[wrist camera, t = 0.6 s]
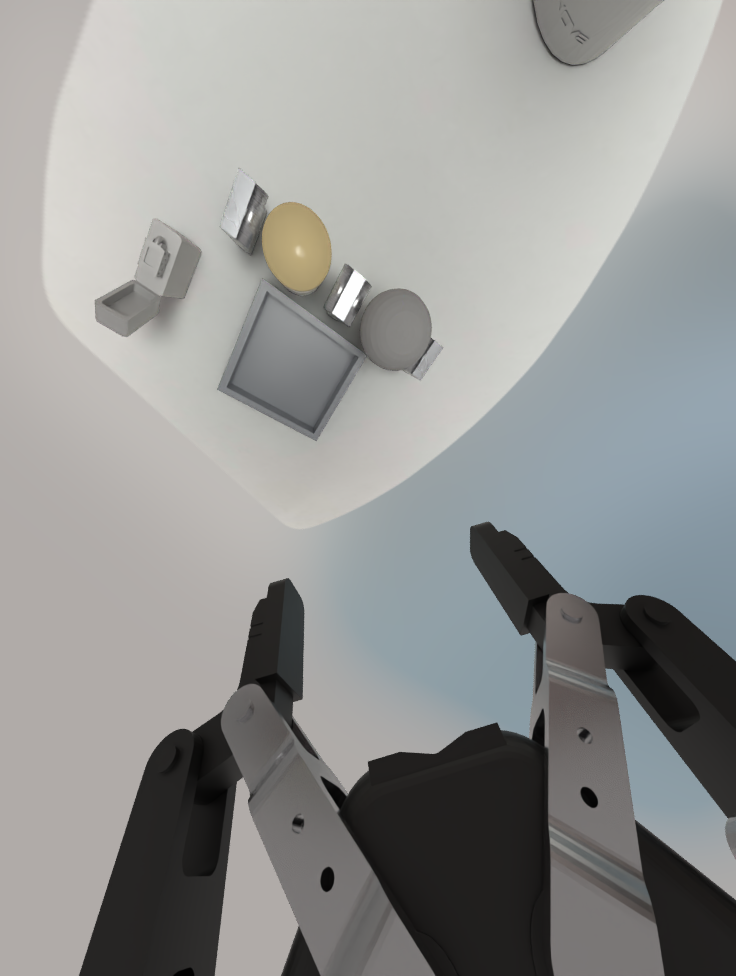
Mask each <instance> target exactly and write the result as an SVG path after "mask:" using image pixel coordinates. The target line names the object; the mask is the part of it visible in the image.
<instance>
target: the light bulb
mask: <svg viewBox="0 0 736 976" xmlns="http://www.w3.org/2000/svg"><path fill="white" fill-rule="evenodd" d="M431 329H432V326H431V318H430V314H429V311H428V309H427V307H426V305H425V304H424V302H423V301H422V300H421V298H420V297H419V296H417V295H416V294H415V293H413V292H411V291H409V290H406V289H391V290H387V291H384V292H382V293H380V294H379V295H377V296H376V297H375V298H374V299H373V300H372V301H371V302H370V303H369V305H368V306H367V308H366V309H365V312H364V314H363V317H362V320H361V325H360V338H361V343H362V346H363V349H364V351H365V353H366V355H367V356H368V357H369V359H370V360H371V361H372V362H373V363H375V364H376V365H378V366H379V367H381V368H384V369H387V370H392V371H396V370H402V369H405V368H407V367H409V366H411V365H413V364H414V363H415V362H416V361H418V360H419V359H420V358H421V356H422V355H423V354H424V352H425V351H426V349H427V347H428V344H429V341H430V337H431Z"/></svg>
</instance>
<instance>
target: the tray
mask: <svg viewBox="0 0 736 976" xmlns="http://www.w3.org/2000/svg"><path fill="white" fill-rule="evenodd" d="M366 357H367V355H366V354H365V353H363V352H362V351H361V350H359V349H358V348H357V347H355V346H354V345H353V344H351V343H350V342H349V341H347V340H346V339H344V338H343V337H342V336H340V335H339V334H338V333H336V332H335V331H334V330H332V329H331V328H330V327H328V326H327V325H325V324H324V323H323V322H321V321H320V320H319V319H317V318H316V317H315V316H313V315H312V314H311V313H309V312H308V311H306V310H305V309H304V308H302V307H301V306H300V305H298V304H297V303H296V302H294V301H293V300H292V299H290V298H289V297H288V296H286V295H285V294H283V293H282V292H281V291H279V290H278V289H277V288H275V287H274V286H273V285H271V284H270V283H269V282H267V281H266V280H264V279H263V278H262V281H261V283H260V285H259V288H258V290H257V293H256V295H255V298H254V300H253V303H252V305H251V308H250V310H249V313H248V315H247V317H246V320H245V322H244V325H243V327H242V330H241V332H240V335H239V337H238V340H237V342H236V345H235V347H234V349H233V352H232V354H231V357H230V359H229V362H228V364H227V367H226V369H225V372H224V374H223V377H222V379H221V381H220V384H219V386H218V389H217V390H219V391H221V392H223V393H225V394H227V395H229V396H231V397H233V398H235V399H236V400H238V401H240V402H242V403H244V404H246V405H248V406H250V407H252V408H254V409H256V410H258V411H259V412H261V413H263V414H265V415H267V416H269V417H271V418H273V419H275V420H277V421H279V422H281V423H283V424H284V425H286V426H288V427H290V428H292V429H294V430H296V431H298V432H300V433H302V434H304V435H306V436H308V437H309V438H311V439H313V440H315V441H317V439H318V437H319V436H320V434H321V432H322V431H323V429H324V427H325V426H326V424H327V422H328V421H329V419H330V417H331V416H332V414H333V412H334V411H335V409H336V407H337V405H338V404H339V402H340V400H341V399H342V397H343V395H344V394H345V392H346V390H347V389H348V387H349V385H350V384H351V382H352V380H353V379H354V377H355V375H356V373H357V372H358V370H359V368H360V367H361V365H362V363H363V362H364V360H365V358H366Z"/></svg>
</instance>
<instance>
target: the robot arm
mask: <svg viewBox="0 0 736 976" xmlns="http://www.w3.org/2000/svg"><path fill="white" fill-rule="evenodd" d="M663 1H664V0H534V6H535V12H536V17H537V22H538V26H539V29H540V31H541V34H542V37H543V39H544V42H545V43H546V45H547V46H548V48H549V49H550V51H551V52H552V54H553V55H555V56H556V57H557V58H558V59H559V60H561V61H562V62H565V63H568V64H572V65H577V64H585V63H587V62H589V61H592V60H594V59H596V58H598V57H599V56H600V55H601V54H602V53H604V52H605V51H606V50H607V49H609V48H610V47H611V46H612V45H613V44H614V43H616V42H617V41H618V40H619V39H620V38H621V37H622V36H624V35H625V34H626V33H627V32H628V31H629V30H630V29H632V28H633V27H634V26H635V25H636V24H637V23H638V22H639V21H641V20H642V19H643V18H644V17H645V16H646V15H647V14H649V13H650V12H651V11H652V10H653V9H654V8H655V7H657V6H658V5H659V4H660V3H662V2H663ZM470 552H471V556H472V559H473V561H474V563H475V565H476V566H477V568H478V569H479V571H480V573H481V574H482V575H483V577H484V579H485V580H486V582H487V583H488V585H489V586H490V588H491V590H492V591H493V593H494V594H495V596H496V598H497V599H498V601H499V602H500V604H501V605H502V607H503V609H504V610H505V612H506V613H507V615H508V616H509V618H510V620H511V621H512V623H513V624H514V626H515V627H516V629H517V630H518V632H519V634H520V635H525V634H528V633H531V635H532V636H533V638H534V639H535V641H536V643H535V661H534V686H533V687H534V688H533V701H532V708H531V716H530V717H531V718H530V734H529V738H527V737H525V736H523V735H520V734H517V733H514V732H509V731H502V730H500V728H499V726H498V723H494V724H490V725H487V726H484V727H480V728H477V729H474V730H471V731H467V732H465V733H464V734H463V735H461V736H460V737H458V738H457V739H456V740H454V741H453V742H452V743H451V744H449V745H448V746H447V747H445V748H444V749H443V750H441V751H440V752H439V753H436V754H424V753H423V754H422V753H406V752H398V753H395V754H392V755H388V756H385V757H382V758H378V759H375V760H372V761H369V762H368V766H369V771H368V772H367V773H365V774H364V775H363V776H362V777H361V778H360V779H359V780H358V781H357V783H356V784H355V785H354V786H353V788H352V789H351V790H350V792H349V794H348V793H347V791H346V790H345V788H344V787H343V786H342V784H341V783H340V781H339V780H338V778H337V777H336V776H335V774H334V773H333V772H332V771H331V769H330V768H329V767H328V766H327V765H326V764H325V762H324V761H323V760H322V758H321V757H320V755H319V754H318V752H317V751H316V749H315V748H314V747H313V745H312V744H311V742H310V741H309V739H308V738H307V736H306V735H305V733H304V732H303V730H302V729H301V727H300V726H299V724H298V723H297V722H296V720H295V719H294V717H293V716H292V711H293V702H295V701H298V700H301V699H302V698H303V650H304V649H303V648H304V605H303V602H302V599H301V597H300V595H299V594H298V592H297V590H296V589H295V587H294V586H293V584H292V582H291V580H290V579H289V578H287V579H283V580H280V581H276V582H273V583H270V585H269V587H268V594H267V598H265V599H261V600H260V601H259V603H258V604H257V606H256V608H255V610H254V612H253V615H252V620H251V629H250V631H249V636H248V637H249V640H248V641H247V647H246V652H245V657H244V663H243V668H242V673H241V679H240V683H239V687H238V689H237V691H236V692H235V693H234V694H233V695H232V696H231V698H230V699H229V700H228V702H227V704H226V705H225V708H224V710H223V711H222V712H220V713H219V714H218V715H216V716H215V717H213V718H212V719H210V720H209V721H207V722H206V723H205V724H203V725H202V726H200V727H199V728H197V729H196V730H194V731H193V732H191V731H189V730H187V729H179V730H176V731H174V732H172V733H170V734H169V735H168V736H167V737H165V738H164V739H163V740H162V741H161V742H160V744H159V745H158V746H157V747H156V749H155V750H154V751H153V753H152V755H151V756H150V758H149V760H148V762H147V765H146V767H145V770H144V774H143V777H142V780H141V783H140V786H139V789H138V792H137V796H136V799H135V802H134V805H133V808H132V811H131V814H130V818H129V821H128V824H127V827H126V830H125V834H124V836H123V840H122V843H121V846H120V849H119V852H118V855H117V858H116V861H115V865H114V868H113V871H112V874H111V877H110V880H109V883H108V886H107V890H106V893H105V896H104V899H103V903H102V905H101V908H100V912H99V915H98V918H97V921H96V924H95V927H94V930H93V933H92V937H91V940H90V943H89V946H88V950H87V953H86V956H85V959H84V962H83V965H82V968H81V971H80V974H79V976H215V967H216V958H217V950H218V940H219V932H220V924H221V914H222V906H223V898H224V889H225V880H226V871H227V863H228V854H229V845H230V837H231V828H232V819H233V810H234V802H235V792H236V784H237V781H239V780H240V779H241V778H242V777H243V778H244V780H245V782H246V784H247V786H248V789H249V792H250V798H249V800H248V805H249V810H250V813H251V816H252V818H253V821H254V823H255V825H256V827H257V830H258V832H259V834H260V837H261V839H262V841H263V844H264V845H265V848H266V851H267V853H268V855H269V857H270V860H271V862H272V864H273V867H274V869H275V871H276V873H277V876H278V878H279V880H280V883H281V885H282V887H283V890H284V892H285V894H286V897H287V899H288V901H289V904H290V906H291V908H292V911H293V913H294V915H295V917H296V920H297V922H298V924H299V927H298V930H297V933H296V935H295V938H294V941H293V944H292V947H291V949H290V953H289V955H288V958H287V961H286V963H285V966H284V969H283V972H282V975H281V976H736V900H735V899H734V898H732V897H731V896H730V895H729V894H727V893H726V892H725V891H724V890H722V889H721V888H720V887H719V886H717V885H716V884H715V883H714V882H712V881H711V880H710V879H709V878H707V877H706V876H705V875H703V874H702V873H701V872H700V871H699V870H697V869H696V868H695V867H694V866H692V865H691V864H690V863H688V862H687V861H686V860H685V859H684V858H682V857H681V856H680V855H679V854H677V853H676V852H675V851H674V850H672V849H671V848H670V847H669V846H667V845H666V844H665V843H663V842H662V841H661V840H660V839H658V838H657V837H656V836H655V835H653V834H652V833H651V832H650V831H648V830H647V829H646V828H645V827H644V826H642V825H641V824H640V823H639V822H637V821H636V820H635V818H634V811H633V804H632V798H631V790H630V783H629V777H628V770H627V763H626V756H625V749H624V742H623V735H622V728H621V721H620V714H619V708H618V702H617V698H616V695H615V692H614V691H613V689H611V688H610V687H609V686H608V683H607V678H606V670H605V668H607V669H613V670H615V672H616V673H617V675H618V676H619V677H620V679H621V680H622V681H623V682H624V684H625V685H626V686H627V688H628V689H629V690H630V691H631V693H632V694H633V696H634V697H635V698H636V699H637V701H638V702H639V703H640V705H641V706H642V707H643V709H644V710H645V711H646V712H647V714H648V715H649V716H650V718H651V719H652V720H653V722H654V723H655V724H656V725H657V727H658V728H659V729H660V731H661V732H662V733H663V735H664V736H665V737H666V738H667V740H668V741H669V742H670V744H671V745H672V746H673V748H674V749H675V750H676V751H677V753H678V754H679V755H680V757H681V758H682V759H683V760H684V762H685V763H686V764H687V766H688V767H689V768H690V769H691V771H692V772H693V774H694V775H695V776H696V777H697V779H698V780H699V781H700V783H701V784H702V785H703V787H704V788H705V789H706V790H707V792H708V793H709V794H710V796H711V797H712V798H713V800H714V801H715V802H716V803H717V805H718V806H719V807H720V809H721V810H722V811H723V813H724V814H725V815H726V816H727V818H728V820H727V822H726V826H725V830H726V831H725V832H726V838H727V842H728V844H729V847H730V849H731V851H732V853H733V855H734V857H735V859H736V661H735V660H734V659H732V658H731V657H730V656H729V655H728V654H727V653H726V652H725V651H723V650H722V649H721V648H720V647H719V646H717V644H716V643H714V642H713V641H712V640H711V639H710V638H709V637H708V636H707V635H705V634H704V633H703V632H702V631H701V630H700V629H699V628H698V627H696V626H695V625H694V624H693V623H692V622H691V621H690V620H689V619H687V618H686V617H685V616H684V615H683V614H682V613H681V612H680V611H678V610H677V609H676V608H675V607H673V606H672V605H670V604H668V603H666V602H665V601H662V600H660V599H658V598H655V597H651V596H645V595H636V596H633V597H631V598H629V599H628V600H627V601H626V603H625V605H621V604H620V605H619V604H596V603H589V602H587V601H585V600H584V599H582V598H580V597H578V596H576V595H573V594H569V593H568V592H567V591H565V590H564V589H563V588H562V587H561V585H560V584H559V583H558V582H557V581H556V580H555V579H554V578H553V576H552V575H551V574H550V573H549V572H548V571H547V570H546V569H545V568H544V566H543V565H542V564H541V563H540V562H539V561H538V560H537V559H536V558H535V557H534V556H533V554H532V553H531V552H530V551H529V550H528V549H527V548H526V546H525V545H524V544H523V543H522V542H521V541H520V540H519V539H518V538H517V537H516V536H514V535H513V534H511V533H509V532H507V531H506V530H504V531H500V532H498V531H497V530H496V529H495V527H494V526H493V525H492V524H491V523H490V522H485V523H482V524H478V525H475V526H471V528H470Z"/></svg>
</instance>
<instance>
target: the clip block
mask: <svg viewBox="0 0 736 976" xmlns="http://www.w3.org/2000/svg"><path fill="white" fill-rule="evenodd" d="M267 199H268V195H267V194H266V193H265V192H264V191H263V190H262V189H261V188H260V187H259V186H258V185H257V184H256V182H255V181H254V180H253V179H252V178H250V177H249V176H248V175H247V174H246V173H245V172H244V171H243V170H241V169H240V168H239V169H238V172H237V175H236V178H235V181H234V184H233V187H232V190H231V193H230V196H229V199H228V202H227V205H226V208H225V211H224V214H223V217H222V220H221V223H220V226H219V227H220V228H221V229H222V230H223V231H224V232H225V233H226V234H227V235H228V236H229V237H230V238H231V239H232V240H233V241H234V242H235V243H236V244H237V245H238V246H239V247H240V248H242V249H243V250H244V251H246V252H247V253H248V254H250V255H251V254H252V251H253V249H254V246H255V243H256V241H257V238H258V235H259V233H260V230H261V228H262V225H263V222H264V220H265V217H266V214H267V211H266V208H265V205H266V202H267ZM371 287H372V286H371V285H370V284H369V283H368V282H367V281H366V279H365V278H364V277H363V276H362V275H360V274H359V273H358V272H357V271H356V270H355V269H354V270H353V269H352V268H351V267H350V266H349V265H347V264H345V265H344V267H343V269H342V271H341V273H340V275H339V277H338V279H337V281H336V283H335V285H334V287H333V289H332V291H331V293H330V295H329V297H328V299H327V301H326V303H325V305H324V308H325V309H326V310H328V312H327V314H329V315H330V316H331V317H332V318H334V319H335V320H337V321H342V322H343V323H345V324H346V325H347V326H349V327H350V325H351V323H352V322H353V320H354V318H355V316H356V314H357V313H358V311H359V309H360V307H361V305H362V303H363V302H364V300H365V298H366V296H367V294H368V292H369V291H370V289H371ZM442 349H443V347H442V346H441V345H440V344H439V343H438V342H436V341H435V340H433V339H432V338H431V337H430V341H429V344H428V347H427V349H426V351H425V352H424V354H423V355H422V356H421V358H420V359H419V360H418V361H416V362H415V363H414V364H413V365H411V366H409V367H407V368H405V369H402V370H403V371H404V372H406V373H408V374H410V375H411V376H413V377H415V378H417V379H418V380H421V379H422V378H423V376H424V375H425V373H426V372H427V370H428V369H429V367H430V366H431V365H432V363H433V362H434V360H435V359H436V357H437V356H438V354H439V353H440V352H441V350H442Z"/></svg>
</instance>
